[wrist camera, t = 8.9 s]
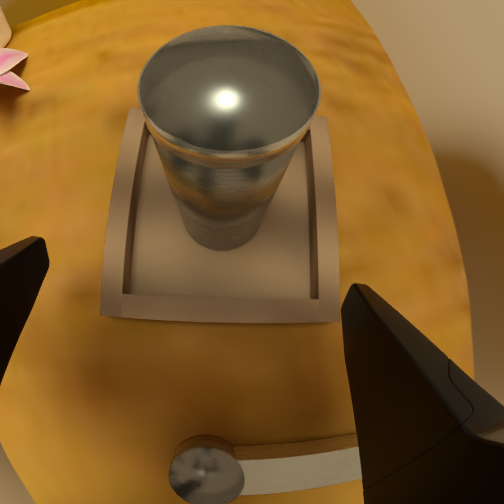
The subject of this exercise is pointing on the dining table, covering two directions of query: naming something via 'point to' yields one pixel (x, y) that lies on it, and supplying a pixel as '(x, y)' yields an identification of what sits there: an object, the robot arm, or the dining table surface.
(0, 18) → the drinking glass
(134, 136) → the taupe tray
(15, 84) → the lily
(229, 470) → the grey ratchet handle
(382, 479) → the robot arm
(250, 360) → the dining table surface
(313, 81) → the polished metal cylinder
